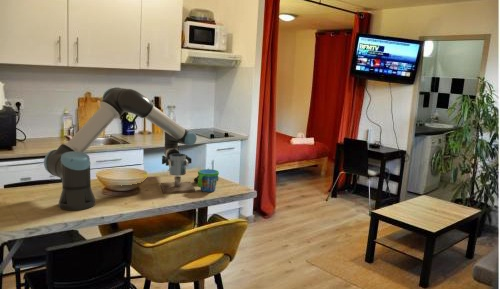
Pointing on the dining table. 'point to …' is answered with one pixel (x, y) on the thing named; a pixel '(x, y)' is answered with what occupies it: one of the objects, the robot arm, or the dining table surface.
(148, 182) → the dining table surface
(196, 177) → the black rounded lump
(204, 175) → the snack cup
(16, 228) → the dining table surface
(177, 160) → the grey pen holder
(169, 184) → the shaft stand
